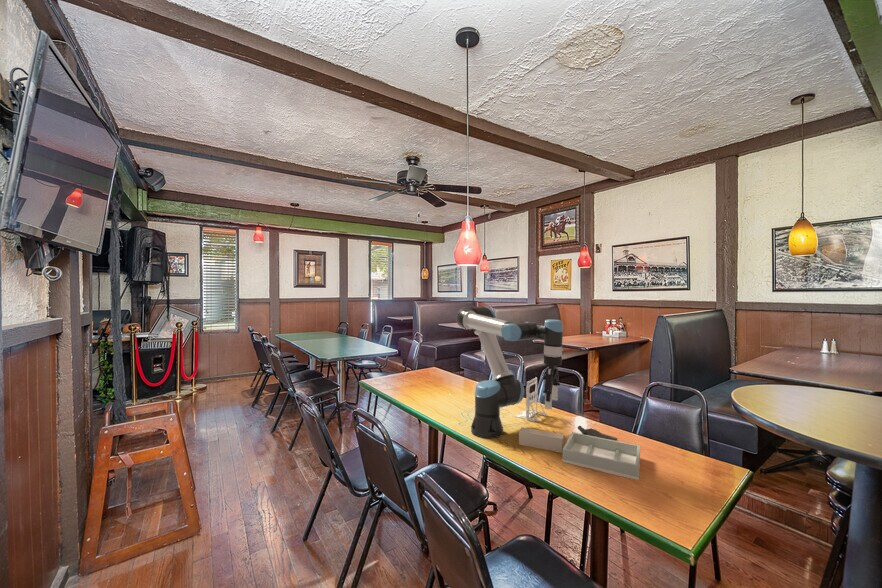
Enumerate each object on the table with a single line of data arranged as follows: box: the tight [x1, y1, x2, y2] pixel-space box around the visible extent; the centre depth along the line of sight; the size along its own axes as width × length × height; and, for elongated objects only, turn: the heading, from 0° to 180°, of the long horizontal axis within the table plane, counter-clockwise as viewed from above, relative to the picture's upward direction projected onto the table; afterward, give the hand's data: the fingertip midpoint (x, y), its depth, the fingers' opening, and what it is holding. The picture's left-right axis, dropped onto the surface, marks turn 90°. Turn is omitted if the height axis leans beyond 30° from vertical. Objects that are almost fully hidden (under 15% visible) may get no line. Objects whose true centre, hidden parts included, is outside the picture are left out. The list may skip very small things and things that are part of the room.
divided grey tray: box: [561, 431, 641, 481], centre depth 140 cm, size 26×20×5 cm
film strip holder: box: [514, 376, 548, 423], centre depth 190 cm, size 14×14×20 cm
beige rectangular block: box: [518, 427, 565, 454], centre depth 152 cm, size 18×5×6 cm, turn 64°
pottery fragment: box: [577, 425, 618, 441], centre depth 161 cm, size 15×12×4 cm
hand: (551, 404), depth 153 cm, fingers open, 13 cm apart
